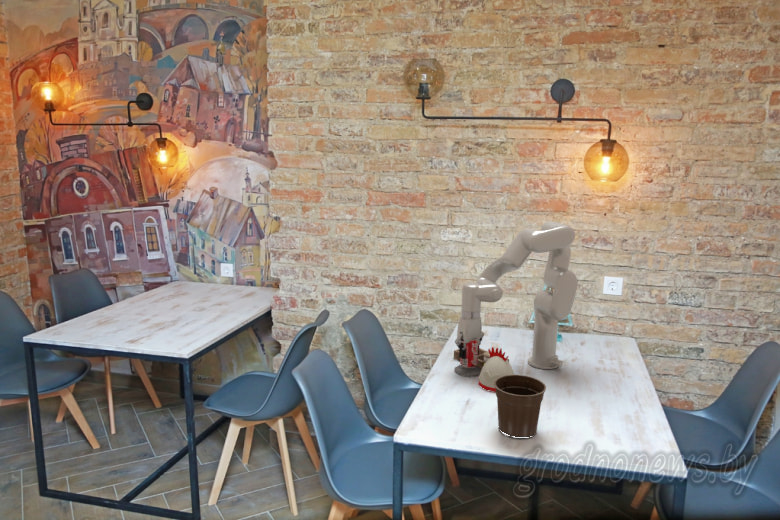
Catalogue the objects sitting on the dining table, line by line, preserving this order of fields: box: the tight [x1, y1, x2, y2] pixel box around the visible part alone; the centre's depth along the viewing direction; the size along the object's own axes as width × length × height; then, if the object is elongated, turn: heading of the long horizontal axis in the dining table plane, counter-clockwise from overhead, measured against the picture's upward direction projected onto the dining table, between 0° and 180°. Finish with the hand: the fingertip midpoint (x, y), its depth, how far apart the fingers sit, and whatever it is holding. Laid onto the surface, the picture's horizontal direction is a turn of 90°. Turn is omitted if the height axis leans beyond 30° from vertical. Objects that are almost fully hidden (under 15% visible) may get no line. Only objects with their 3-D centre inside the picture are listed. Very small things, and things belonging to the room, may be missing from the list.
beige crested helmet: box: [478, 346, 515, 393], centre depth 230 cm, size 14×14×15 cm
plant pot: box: [494, 374, 547, 437], centre depth 194 cm, size 16×16×16 cm
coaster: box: [453, 364, 481, 378], centre depth 244 cm, size 11×11×1 cm
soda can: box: [459, 339, 478, 368], centre depth 242 cm, size 7×7×12 cm
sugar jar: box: [484, 351, 491, 362], centre depth 249 cm, size 5×5×6 cm
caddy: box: [453, 347, 510, 370], centre depth 253 cm, size 21×11×4 cm, turn 40°
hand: (469, 355), depth 243 cm, fingers closed on soda can, 7 cm apart
